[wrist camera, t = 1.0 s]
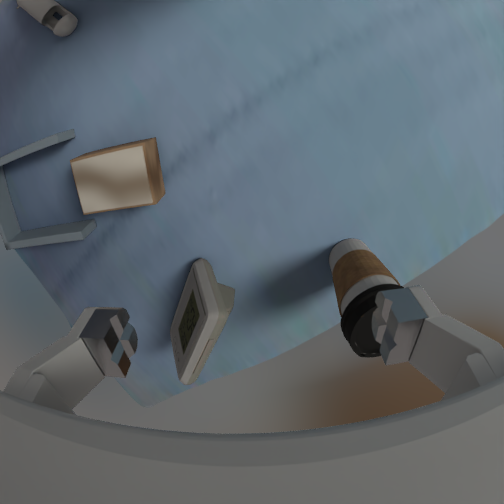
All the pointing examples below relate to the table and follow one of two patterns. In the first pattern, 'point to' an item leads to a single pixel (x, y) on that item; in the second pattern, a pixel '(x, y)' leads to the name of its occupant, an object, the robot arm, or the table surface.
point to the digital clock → (199, 320)
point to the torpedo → (50, 15)
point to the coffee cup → (359, 292)
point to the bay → (5, 223)
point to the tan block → (119, 177)
